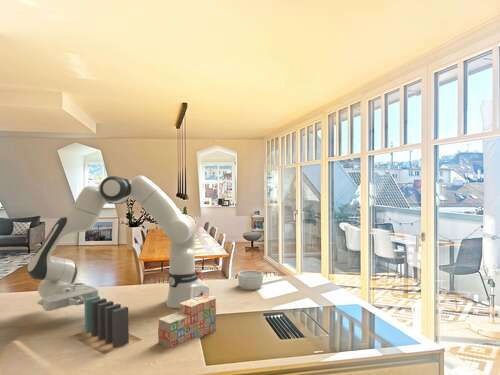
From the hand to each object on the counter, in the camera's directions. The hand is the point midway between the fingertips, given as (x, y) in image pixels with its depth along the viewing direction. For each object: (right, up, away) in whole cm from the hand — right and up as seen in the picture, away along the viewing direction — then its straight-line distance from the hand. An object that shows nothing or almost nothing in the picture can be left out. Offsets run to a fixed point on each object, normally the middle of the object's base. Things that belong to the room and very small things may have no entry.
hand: (80, 302), depth 145 cm
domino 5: (+21, -9, -17) cm, 28 cm away
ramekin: (+64, -8, +53) cm, 83 cm away
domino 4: (+17, -9, -14) cm, 24 cm away
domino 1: (+7, -9, -5) cm, 12 cm away
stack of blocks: (+42, -10, -9) cm, 44 cm away
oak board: (+14, -10, -11) cm, 20 cm away
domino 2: (+10, -9, -8) cm, 16 cm away
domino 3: (+14, -9, -11) cm, 20 cm away
